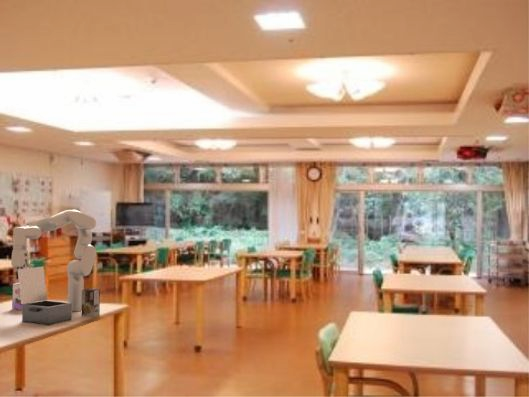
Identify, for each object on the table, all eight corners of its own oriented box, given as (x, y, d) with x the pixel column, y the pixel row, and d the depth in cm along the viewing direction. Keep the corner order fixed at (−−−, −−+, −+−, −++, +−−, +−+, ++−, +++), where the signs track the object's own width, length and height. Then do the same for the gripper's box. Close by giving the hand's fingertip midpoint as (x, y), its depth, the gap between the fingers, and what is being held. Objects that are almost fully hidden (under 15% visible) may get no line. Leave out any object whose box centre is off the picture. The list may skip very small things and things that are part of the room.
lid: (47, 299, 363) (43, 300, 364) (43, 266, 364) (40, 267, 366) (22, 304, 346) (19, 304, 347) (18, 269, 348) (15, 269, 349)
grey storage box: (48, 316, 364) (48, 299, 364) (74, 319, 356) (74, 302, 356) (19, 322, 344) (19, 305, 345) (45, 326, 336) (46, 308, 336)
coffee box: (100, 315, 370) (100, 289, 370) (93, 317, 364) (94, 290, 364) (87, 314, 373) (87, 288, 373) (80, 316, 367) (81, 289, 367)
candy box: (11, 309, 387) (12, 283, 387) (18, 308, 393) (19, 282, 393) (28, 311, 382) (29, 284, 382) (35, 309, 387) (35, 283, 388)
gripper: (34, 247, 360) (33, 278, 360) (16, 246, 367) (15, 277, 367) (24, 248, 354) (23, 280, 353) (5, 247, 360) (5, 278, 360)
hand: (19, 278), depth 360 cm, fingers closed
